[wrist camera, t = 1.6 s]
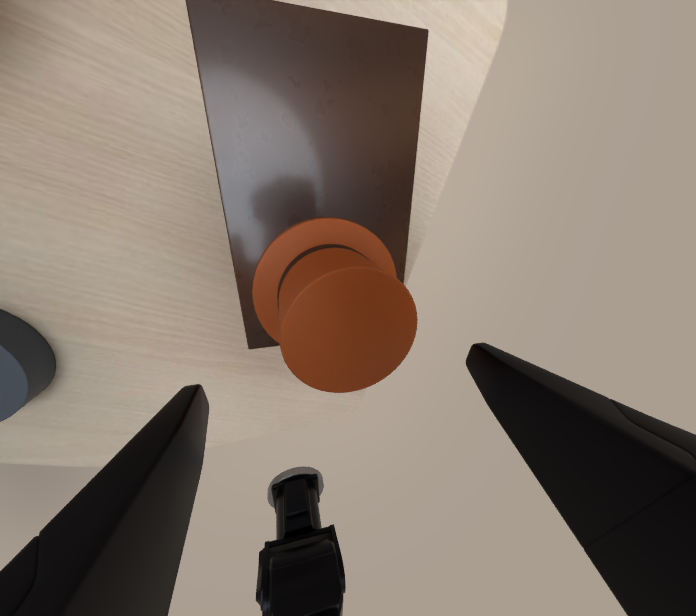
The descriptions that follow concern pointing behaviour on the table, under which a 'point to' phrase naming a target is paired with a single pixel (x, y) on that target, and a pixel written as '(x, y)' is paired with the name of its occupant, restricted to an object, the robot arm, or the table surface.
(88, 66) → the table surface
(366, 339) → the orange top hat
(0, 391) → the stand
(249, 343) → the brown lidded box
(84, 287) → the table surface
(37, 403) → the table surface
